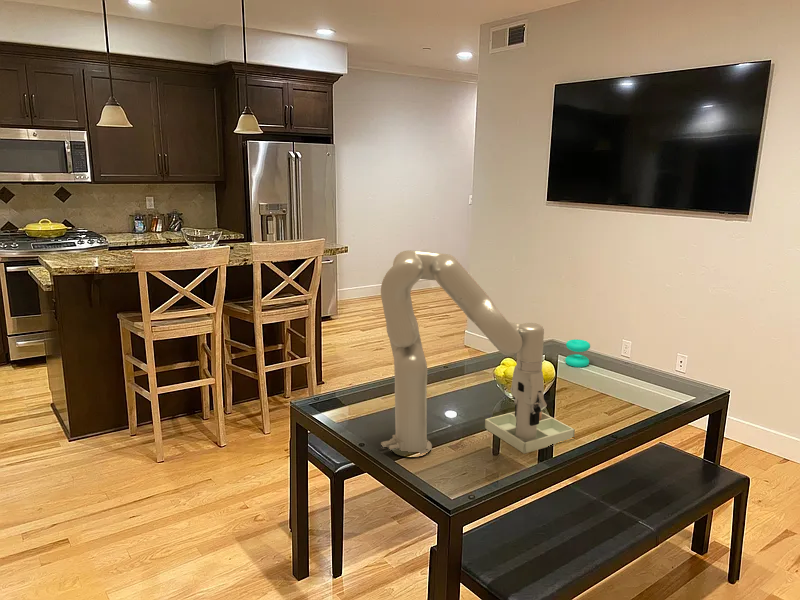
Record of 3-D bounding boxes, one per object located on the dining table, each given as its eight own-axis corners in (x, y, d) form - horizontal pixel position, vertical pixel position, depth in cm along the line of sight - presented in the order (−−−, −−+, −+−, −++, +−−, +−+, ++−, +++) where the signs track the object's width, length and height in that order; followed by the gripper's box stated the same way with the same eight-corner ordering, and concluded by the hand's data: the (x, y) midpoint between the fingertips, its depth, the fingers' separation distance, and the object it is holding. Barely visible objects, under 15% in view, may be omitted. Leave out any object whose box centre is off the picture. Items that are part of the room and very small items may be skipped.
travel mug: (538, 437, 183) (542, 377, 179) (532, 446, 178) (535, 383, 173) (519, 433, 186) (522, 373, 182) (512, 441, 181) (514, 380, 176)
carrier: (524, 456, 176) (524, 443, 175) (484, 430, 193) (485, 419, 192) (574, 441, 185) (574, 429, 184) (532, 417, 202) (532, 407, 201)
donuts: (581, 346, 246) (561, 341, 253) (579, 369, 248) (560, 363, 256) (595, 342, 252) (575, 337, 259) (593, 364, 254) (574, 358, 262)
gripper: (501, 358, 182) (499, 412, 186) (538, 375, 167) (536, 434, 171) (520, 354, 186) (518, 408, 190) (559, 371, 171) (555, 428, 175)
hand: (526, 419), depth 180 cm, fingers closed on travel mug, 6 cm apart
